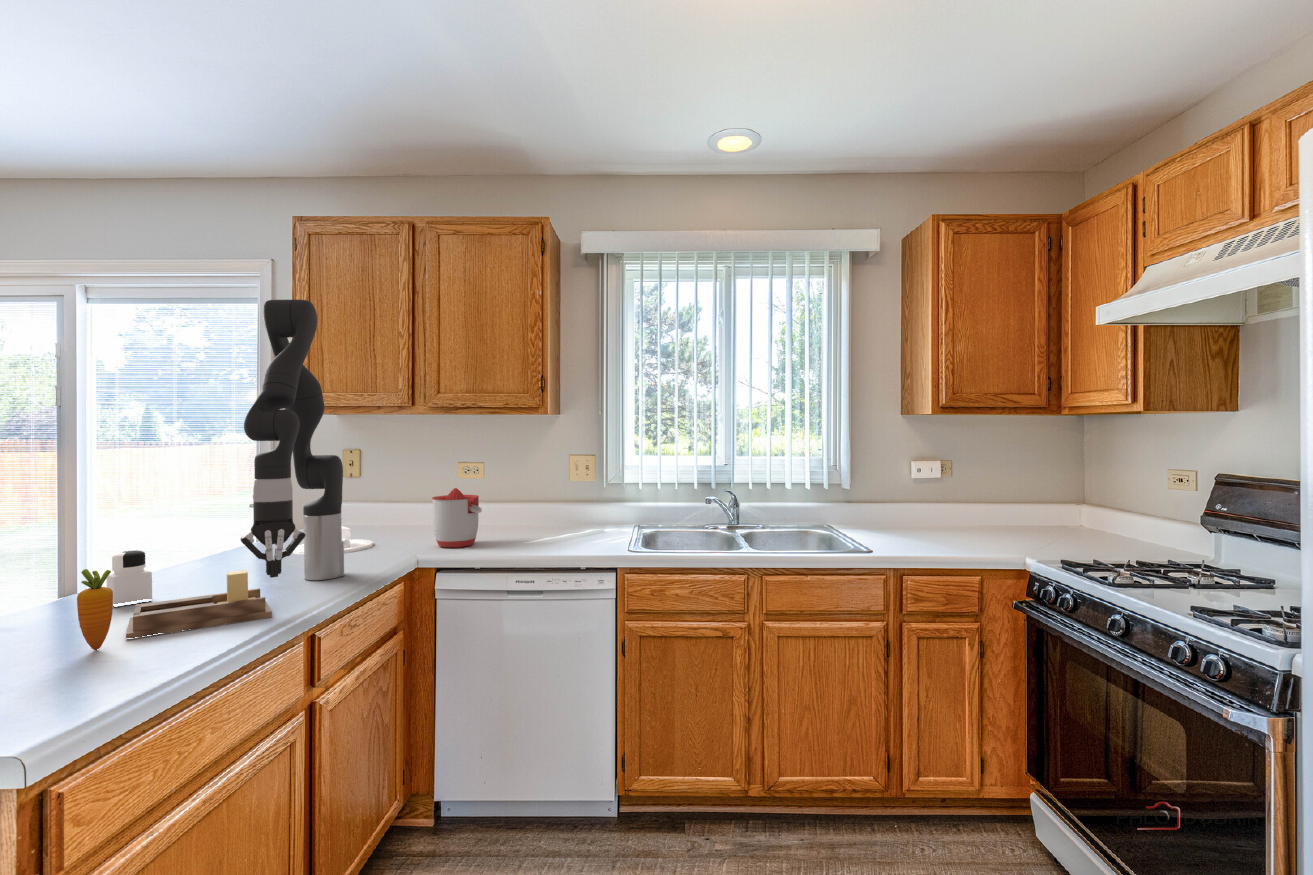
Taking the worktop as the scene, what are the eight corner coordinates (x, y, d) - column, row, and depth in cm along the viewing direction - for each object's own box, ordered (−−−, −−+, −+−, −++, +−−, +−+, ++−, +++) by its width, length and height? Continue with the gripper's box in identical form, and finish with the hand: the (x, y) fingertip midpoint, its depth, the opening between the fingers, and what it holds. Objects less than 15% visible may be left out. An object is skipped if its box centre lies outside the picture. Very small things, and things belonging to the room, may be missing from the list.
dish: (275, 552, 215) (275, 518, 215) (343, 541, 237) (342, 510, 237) (321, 558, 204) (321, 522, 203) (388, 545, 225) (387, 513, 225)
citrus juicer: (466, 550, 212) (465, 490, 212) (422, 548, 218) (421, 489, 217) (492, 542, 227) (492, 486, 227) (451, 540, 232) (450, 485, 232)
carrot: (121, 645, 120) (119, 565, 119) (98, 654, 115) (97, 570, 114) (93, 646, 119) (92, 565, 119) (70, 655, 114) (68, 571, 114)
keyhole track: (264, 603, 148) (264, 586, 148) (271, 617, 137) (271, 598, 137) (130, 623, 134) (129, 604, 134) (126, 640, 123) (125, 619, 123)
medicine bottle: (144, 597, 156) (143, 547, 156) (152, 601, 151) (151, 550, 151) (106, 603, 150) (105, 552, 150) (113, 608, 146) (112, 555, 146)
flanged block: (255, 603, 144) (254, 567, 144) (258, 609, 138) (257, 572, 138) (217, 608, 140) (216, 572, 140) (219, 615, 134) (218, 577, 134)
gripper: (239, 502, 136) (239, 583, 136) (309, 498, 144) (310, 575, 144) (236, 499, 142) (237, 578, 142) (304, 496, 150) (304, 570, 150)
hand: (273, 576), depth 143 cm, fingers closed
